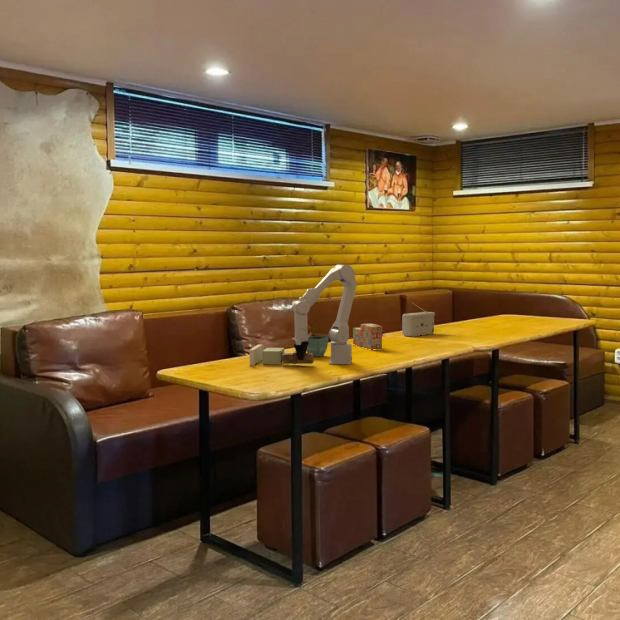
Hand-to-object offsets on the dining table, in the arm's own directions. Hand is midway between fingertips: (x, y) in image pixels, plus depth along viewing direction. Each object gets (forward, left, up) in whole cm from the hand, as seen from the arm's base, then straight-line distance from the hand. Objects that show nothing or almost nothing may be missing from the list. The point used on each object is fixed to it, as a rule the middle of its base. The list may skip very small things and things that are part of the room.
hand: (301, 359), depth 292 cm
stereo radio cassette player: (-50, -108, -3) cm, 120 cm away
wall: (+22, -7, -3) cm, 23 cm away
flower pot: (-2, -27, -3) cm, 27 cm away
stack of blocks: (-24, -58, -3) cm, 63 cm away
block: (+14, -7, -3) cm, 16 cm away
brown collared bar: (+3, 0, -2) cm, 3 cm away
